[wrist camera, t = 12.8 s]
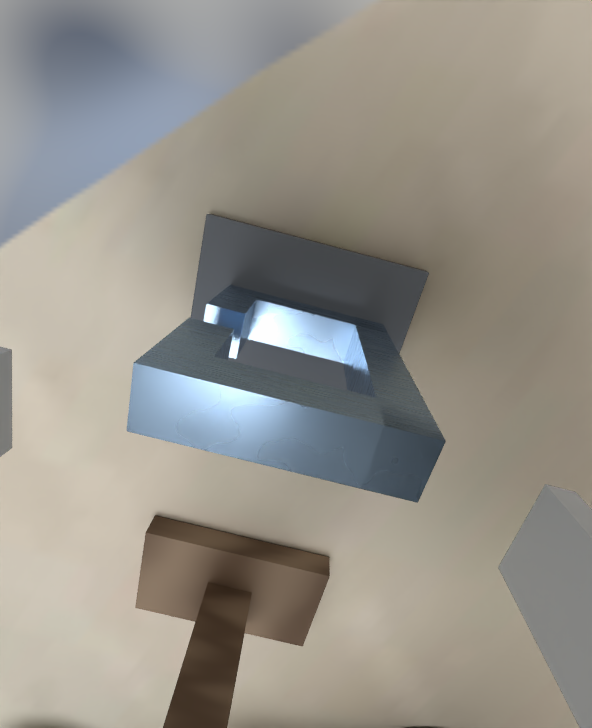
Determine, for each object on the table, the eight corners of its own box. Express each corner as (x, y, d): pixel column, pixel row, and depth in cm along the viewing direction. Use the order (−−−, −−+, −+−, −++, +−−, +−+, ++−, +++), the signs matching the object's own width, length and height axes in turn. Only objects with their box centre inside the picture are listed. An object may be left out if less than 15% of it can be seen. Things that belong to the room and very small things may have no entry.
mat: (426, 271, 20) (428, 272, 19) (370, 424, 23) (371, 429, 22) (209, 213, 19) (206, 213, 19) (184, 377, 23) (180, 381, 22)
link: (383, 324, 20) (445, 441, 10) (371, 359, 21) (417, 502, 11) (230, 284, 20) (133, 362, 10) (223, 321, 21) (126, 431, 10)
